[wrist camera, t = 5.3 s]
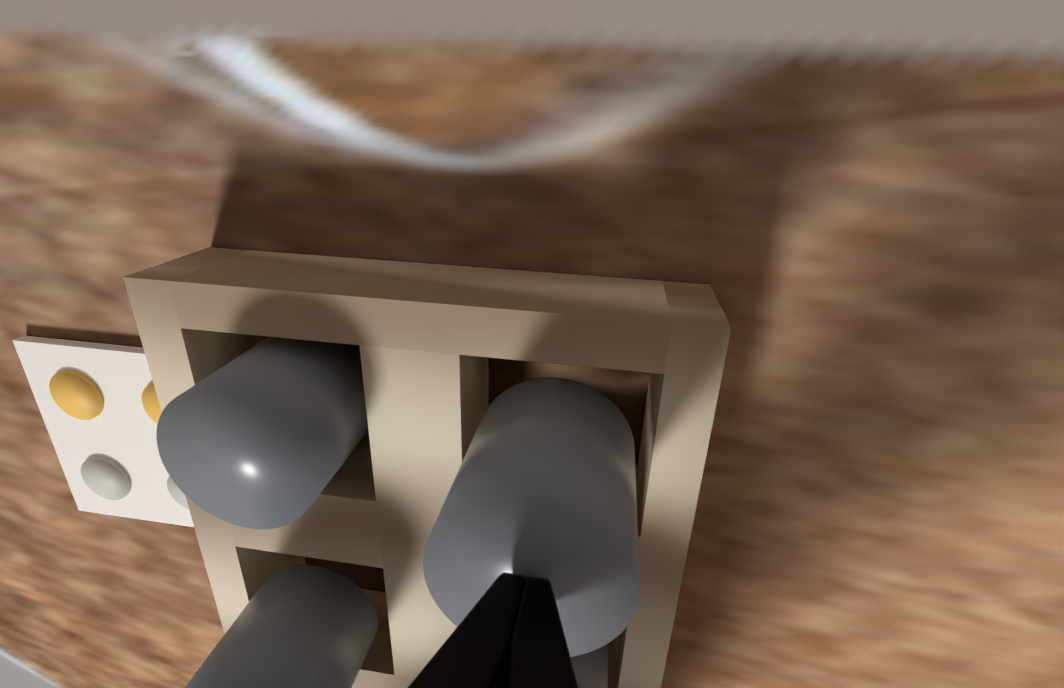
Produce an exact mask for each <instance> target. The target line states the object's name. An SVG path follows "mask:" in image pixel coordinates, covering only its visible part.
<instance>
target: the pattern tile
mask: <svg viewBox="0 0 1064 688" xmlns="http://www.w3.org/2000/svg"><path fill="white" fill-rule="evenodd" d="M13 343H14V345H15V348H16V350H17V353H18V356H19V358H20V361H21V363H22V366H23V368H24V371H25V373H26V376H27V379H28V381H29V384H30V386H31V389H32V391H33V394H34V397H35V399H36V402H37V404H38V407H39V409H40V412H41V415H42V417H43V420H44V422H45V425H46V427H47V430H48V432H49V435H50V438H51V440H52V443H53V445H54V448H55V450H56V453H57V456H58V458H59V461H60V463H61V466H62V468H63V471H64V474H65V476H66V479H67V481H68V484H69V486H70V489H71V491H72V494H73V497H74V499H75V502H76V504H77V507H78V509H79V511H86V512H93V513H100V514H107V515H114V516H121V517H128V518H135V519H142V520H149V521H156V522H162V523H169V524H176V525H183V526H190V527H194V524H193V521H192V517H191V514H190V510H189V507H188V503H187V500H186V496H185V494H184V493H183V492H182V491H181V490H180V489H179V488H178V486H177V485H176V484H175V483H174V481H173V480H172V479H171V477H170V475H169V474H168V472H167V471H166V469H165V467H164V465H163V463H162V460H161V457H160V455H159V451H158V446H157V438H156V433H157V425H158V421H159V418H160V415H161V413H162V412H161V408H160V405H159V401H158V398H157V394H156V391H155V387H154V384H153V380H152V377H151V373H150V370H149V366H148V363H147V359H146V356H145V352H144V349H143V347H133V346H123V345H113V344H103V343H93V342H84V341H74V340H64V339H54V338H44V337H34V336H22V337H20V338H17V339H15V340H13Z"/></svg>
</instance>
